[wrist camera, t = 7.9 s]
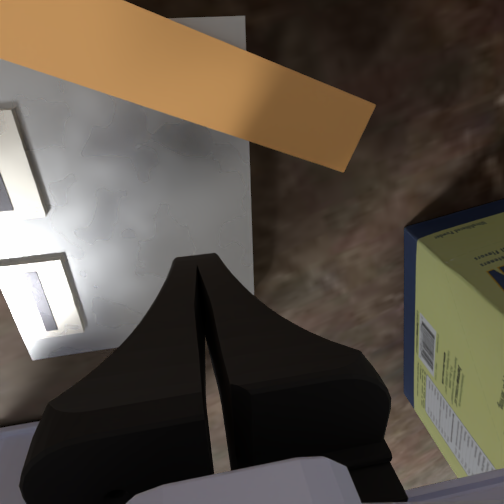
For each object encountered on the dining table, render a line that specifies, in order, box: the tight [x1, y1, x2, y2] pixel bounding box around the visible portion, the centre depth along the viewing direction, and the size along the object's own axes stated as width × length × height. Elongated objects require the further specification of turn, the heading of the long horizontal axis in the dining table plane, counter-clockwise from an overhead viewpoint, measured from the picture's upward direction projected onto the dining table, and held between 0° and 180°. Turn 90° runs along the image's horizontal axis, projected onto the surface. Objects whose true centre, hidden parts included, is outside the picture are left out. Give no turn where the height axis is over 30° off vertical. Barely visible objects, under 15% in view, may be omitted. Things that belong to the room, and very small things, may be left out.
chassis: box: [0, 16, 254, 360], centre depth 17 cm, size 14×11×3 cm
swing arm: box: [0, 0, 376, 173], centre depth 12 cm, size 16×4×2 cm, turn 69°
